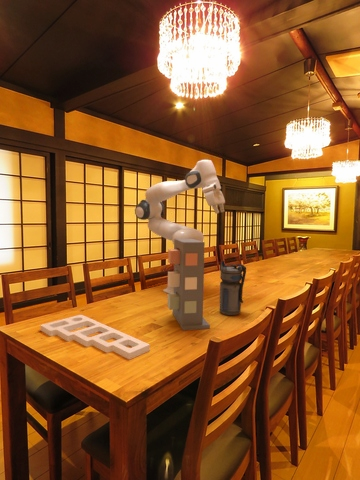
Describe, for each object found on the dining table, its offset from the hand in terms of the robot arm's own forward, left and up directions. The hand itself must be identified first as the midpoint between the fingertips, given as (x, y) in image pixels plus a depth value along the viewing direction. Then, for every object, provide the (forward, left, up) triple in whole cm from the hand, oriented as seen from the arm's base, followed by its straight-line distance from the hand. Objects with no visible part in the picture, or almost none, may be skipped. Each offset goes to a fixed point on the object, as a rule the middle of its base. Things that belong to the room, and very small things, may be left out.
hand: (220, 212), depth 160 cm
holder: (-11, -75, -50) cm, 91 cm away
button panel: (+6, -35, -49) cm, 60 cm away
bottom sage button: (+1, -40, -43) cm, 58 cm away
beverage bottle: (+15, -13, -49) cm, 53 cm away
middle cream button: (+1, -40, -33) cm, 51 cm away
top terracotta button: (+1, -40, -23) cm, 46 cm away
